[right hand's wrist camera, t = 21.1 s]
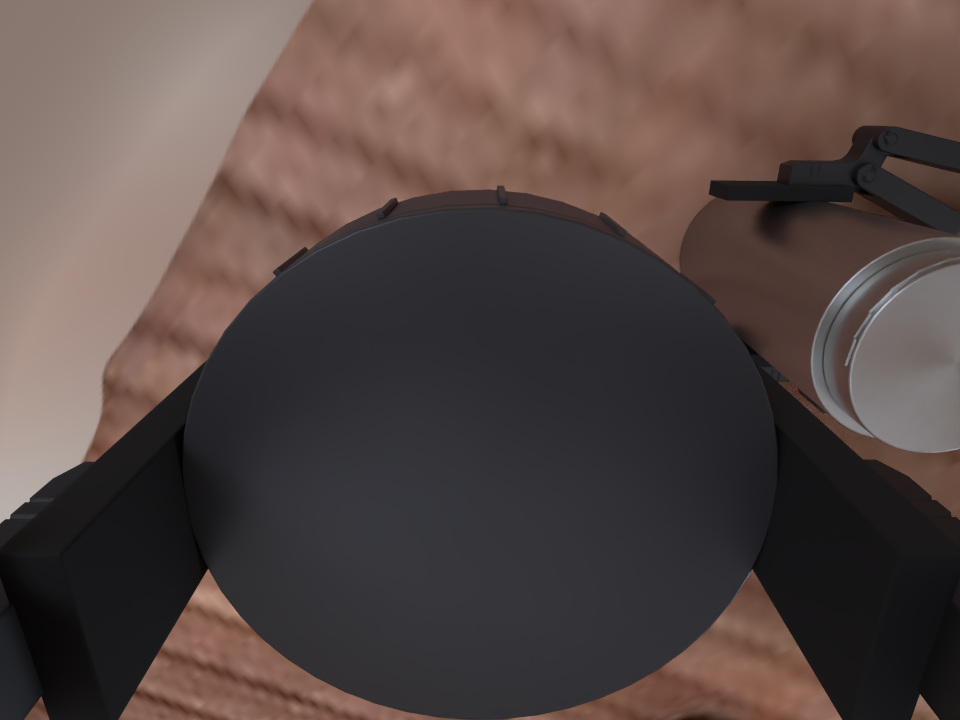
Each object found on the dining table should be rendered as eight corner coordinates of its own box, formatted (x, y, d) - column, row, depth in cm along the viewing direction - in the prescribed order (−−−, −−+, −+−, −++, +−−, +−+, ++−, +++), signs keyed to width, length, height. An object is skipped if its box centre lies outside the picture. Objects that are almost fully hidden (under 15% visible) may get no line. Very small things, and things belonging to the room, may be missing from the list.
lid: (223, 603, 13) (178, 690, 11) (232, 139, 10) (170, 146, 8) (654, 657, 14) (683, 749, 12) (801, 235, 11) (877, 264, 9)
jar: (827, 192, 40) (1120, 259, 22) (790, 320, 43) (1019, 472, 25) (695, 179, 40) (879, 235, 21) (667, 309, 43) (807, 454, 24)
